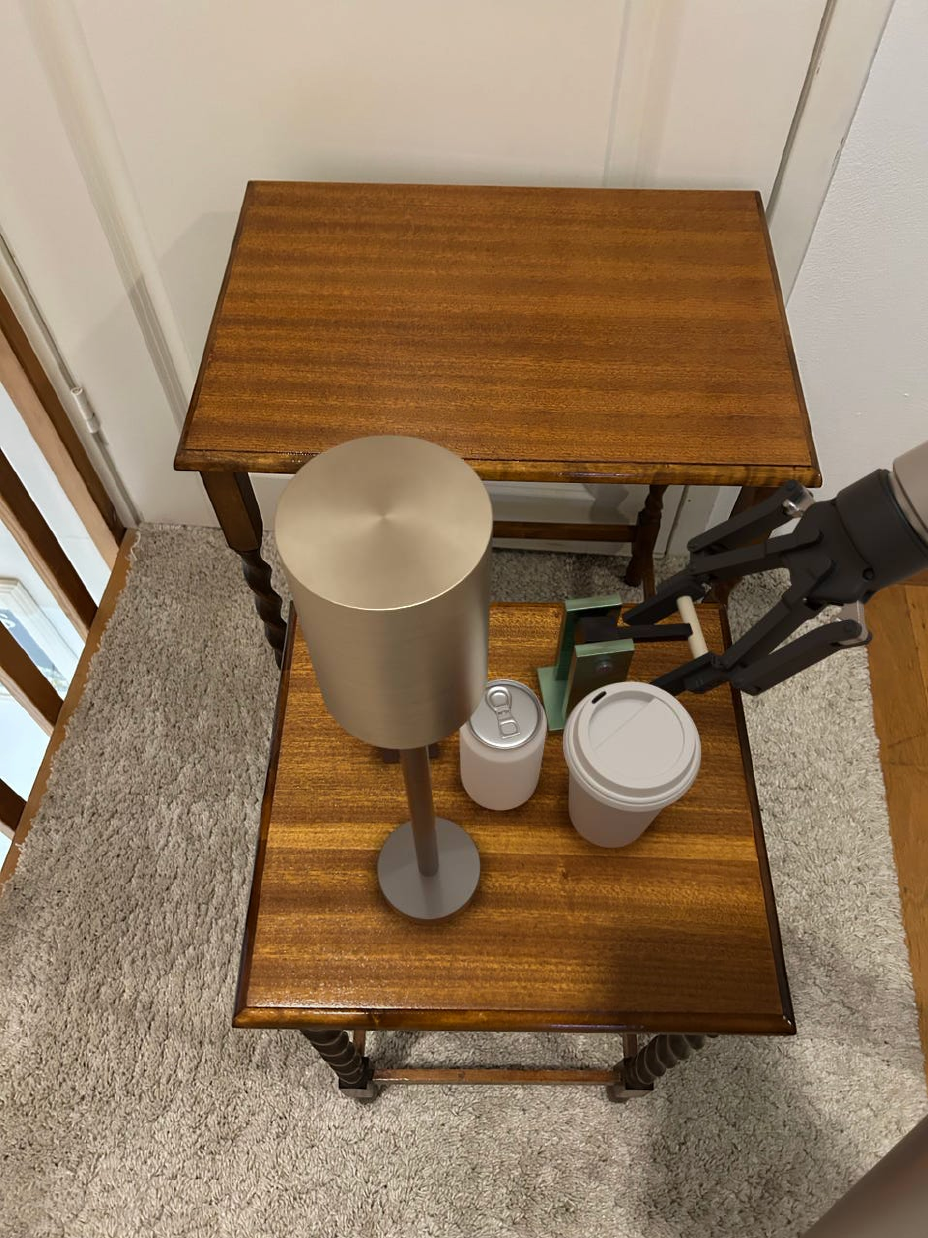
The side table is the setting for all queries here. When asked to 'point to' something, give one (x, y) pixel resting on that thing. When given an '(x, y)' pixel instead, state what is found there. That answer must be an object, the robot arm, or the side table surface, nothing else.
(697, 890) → the side table surface
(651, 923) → the side table surface
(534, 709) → the can
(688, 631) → the lever
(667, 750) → the coffee cup
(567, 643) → the bracket
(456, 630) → the lamp
